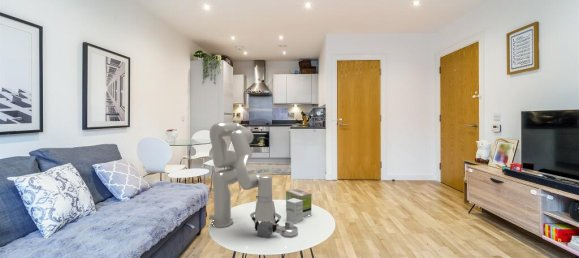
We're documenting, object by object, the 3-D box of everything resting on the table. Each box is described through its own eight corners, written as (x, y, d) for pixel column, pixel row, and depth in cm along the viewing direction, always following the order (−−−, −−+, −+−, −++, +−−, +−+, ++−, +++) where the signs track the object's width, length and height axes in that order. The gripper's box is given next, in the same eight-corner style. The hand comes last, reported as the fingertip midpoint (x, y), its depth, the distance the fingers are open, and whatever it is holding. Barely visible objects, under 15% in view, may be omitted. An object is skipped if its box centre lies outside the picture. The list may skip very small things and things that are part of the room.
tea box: (285, 212, 175) (285, 190, 175) (297, 209, 181) (297, 188, 181) (300, 219, 163) (300, 195, 163) (312, 215, 169) (312, 192, 169)
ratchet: (300, 233, 142) (300, 221, 142) (291, 239, 135) (291, 226, 135) (270, 224, 155) (270, 213, 155) (260, 229, 148) (260, 217, 147)
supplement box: (285, 220, 160) (286, 200, 160) (294, 217, 166) (294, 197, 166) (294, 223, 155) (294, 202, 155) (303, 220, 161) (303, 200, 160)
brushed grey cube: (257, 236, 138) (257, 225, 138) (261, 232, 144) (261, 221, 143) (268, 238, 136) (268, 226, 136) (272, 233, 142) (272, 222, 142)
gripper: (247, 199, 138) (247, 231, 138) (278, 201, 133) (279, 235, 134) (253, 195, 145) (253, 226, 145) (282, 197, 141) (283, 229, 141)
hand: (265, 230), depth 140 cm, fingers open, 9 cm apart
